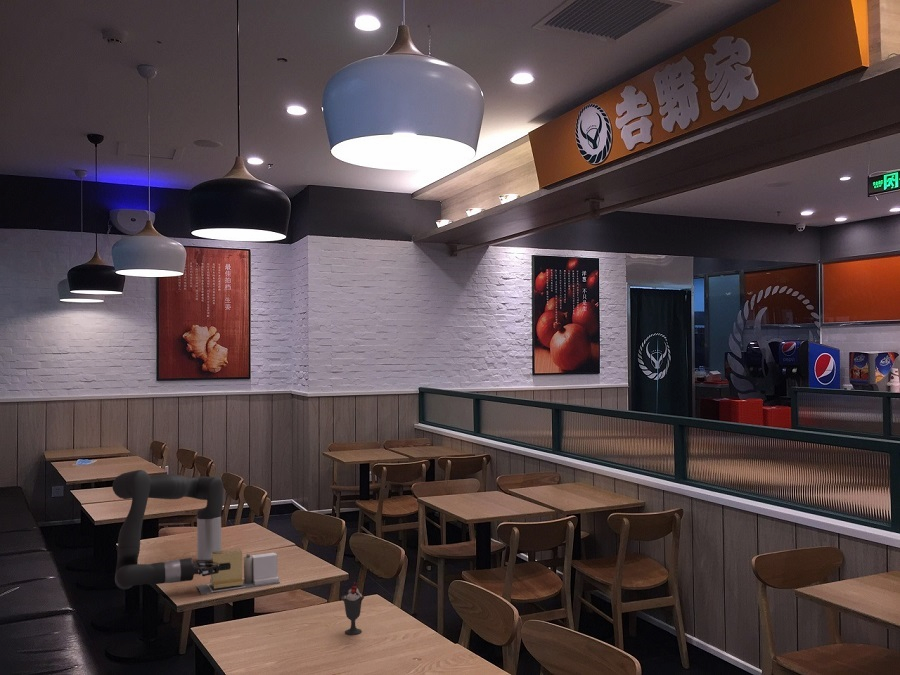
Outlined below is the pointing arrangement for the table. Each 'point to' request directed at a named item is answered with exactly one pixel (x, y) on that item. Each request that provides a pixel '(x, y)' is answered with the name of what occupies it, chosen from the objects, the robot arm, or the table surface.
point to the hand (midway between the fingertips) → (228, 564)
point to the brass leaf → (227, 576)
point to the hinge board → (252, 573)
